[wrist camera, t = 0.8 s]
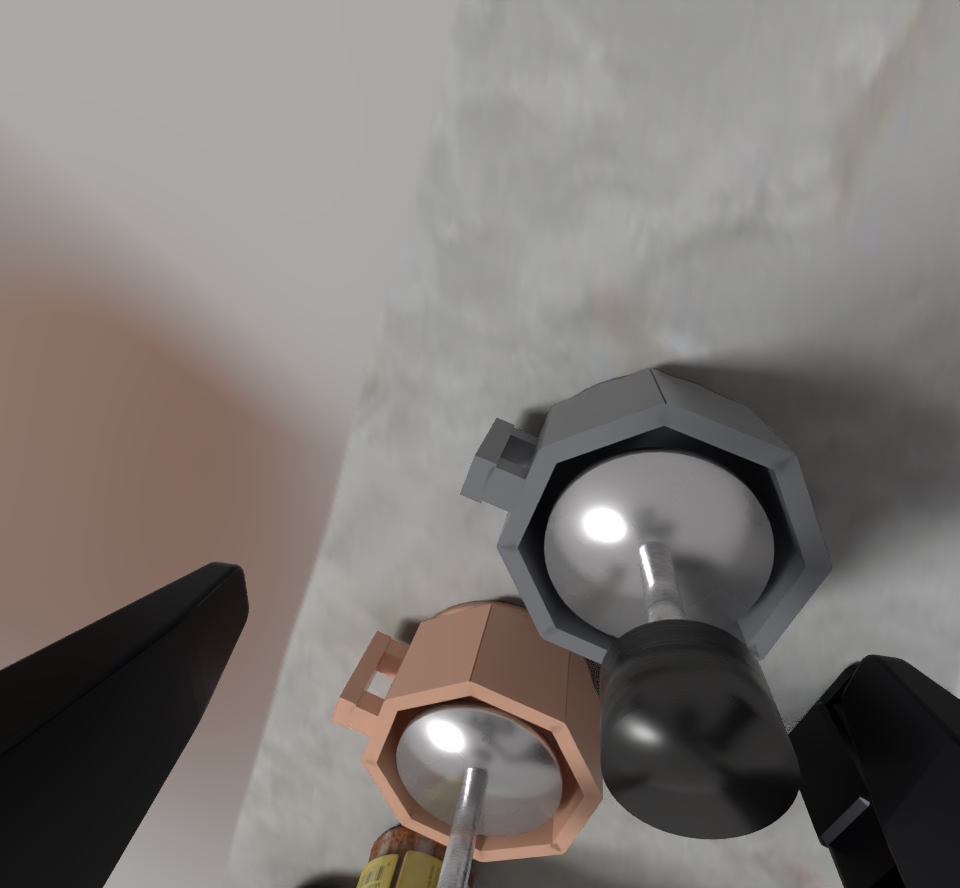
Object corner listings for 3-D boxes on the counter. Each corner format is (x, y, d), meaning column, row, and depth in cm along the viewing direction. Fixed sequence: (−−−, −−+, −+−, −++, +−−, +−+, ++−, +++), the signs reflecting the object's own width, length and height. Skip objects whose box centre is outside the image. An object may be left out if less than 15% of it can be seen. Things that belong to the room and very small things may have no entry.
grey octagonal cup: (815, 430, 18) (890, 492, 13) (692, 615, 21) (719, 716, 17) (537, 319, 19) (518, 342, 14) (459, 516, 22) (423, 587, 17)
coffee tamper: (815, 500, 15) (1015, 728, 8) (700, 663, 17) (772, 947, 10) (597, 411, 15) (599, 552, 8) (515, 584, 17) (463, 805, 10)
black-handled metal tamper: (590, 746, 19) (588, 1027, 12) (525, 846, 22) (493, 1128, 15) (427, 673, 19) (336, 906, 13) (382, 780, 22) (284, 1024, 15)
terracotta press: (626, 651, 23) (634, 754, 18) (549, 775, 26) (539, 889, 21) (407, 556, 23) (360, 632, 19) (359, 689, 27) (309, 781, 22)
